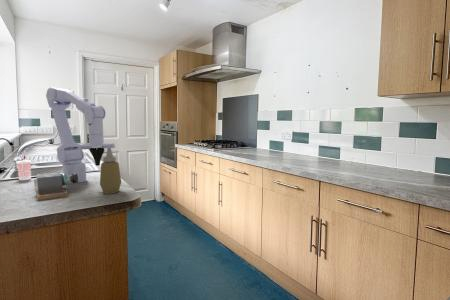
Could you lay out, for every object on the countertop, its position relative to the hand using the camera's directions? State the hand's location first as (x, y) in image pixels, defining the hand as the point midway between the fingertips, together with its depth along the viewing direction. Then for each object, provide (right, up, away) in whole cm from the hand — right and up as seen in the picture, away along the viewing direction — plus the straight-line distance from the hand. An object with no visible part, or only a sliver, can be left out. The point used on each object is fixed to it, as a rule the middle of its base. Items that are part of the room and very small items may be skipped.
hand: (97, 165), depth 118 cm
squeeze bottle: (+9, -11, -8) cm, 16 cm away
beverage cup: (-43, -8, +15) cm, 46 cm away
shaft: (-13, -8, -8) cm, 17 cm away
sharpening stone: (-15, -10, -9) cm, 20 cm away
